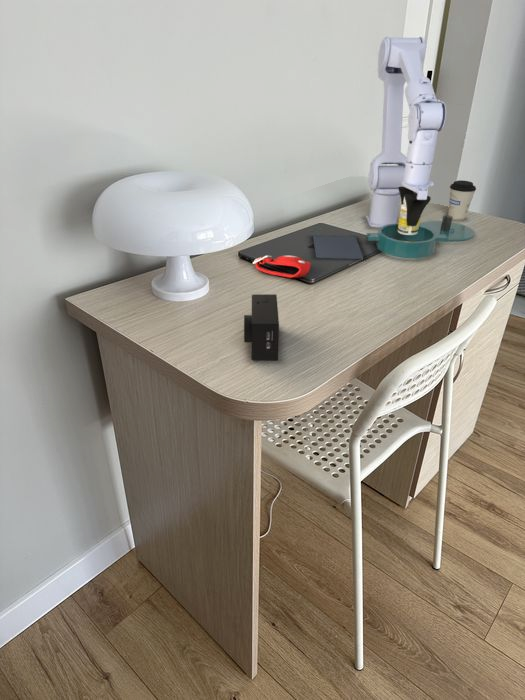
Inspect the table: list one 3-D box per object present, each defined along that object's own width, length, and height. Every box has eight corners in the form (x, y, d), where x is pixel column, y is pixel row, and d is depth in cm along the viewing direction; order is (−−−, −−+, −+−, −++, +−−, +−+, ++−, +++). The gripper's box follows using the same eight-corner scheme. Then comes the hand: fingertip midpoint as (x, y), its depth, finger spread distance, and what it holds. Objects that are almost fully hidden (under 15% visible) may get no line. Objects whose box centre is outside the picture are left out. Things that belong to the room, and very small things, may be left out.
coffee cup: (462, 214, 148) (470, 179, 143) (473, 221, 142) (482, 185, 137) (439, 215, 147) (446, 179, 142) (450, 222, 141) (457, 186, 136)
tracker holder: (293, 254, 118) (321, 258, 110) (291, 273, 119) (319, 278, 111) (249, 252, 111) (276, 256, 103) (248, 273, 112) (274, 278, 104)
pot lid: (410, 224, 140) (413, 207, 138) (463, 225, 140) (467, 208, 138) (423, 243, 128) (426, 225, 125) (481, 244, 128) (486, 226, 125)
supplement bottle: (415, 229, 124) (422, 194, 119) (419, 236, 120) (425, 200, 115) (395, 228, 124) (401, 193, 119) (398, 235, 120) (404, 199, 115)
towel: (312, 237, 131) (312, 235, 130) (355, 238, 130) (355, 236, 130) (316, 258, 119) (316, 256, 119) (363, 259, 119) (363, 257, 118)
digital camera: (245, 328, 91) (244, 293, 87) (275, 328, 91) (276, 293, 87) (244, 360, 82) (243, 323, 78) (277, 360, 82) (279, 323, 78)
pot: (361, 239, 130) (363, 222, 128) (436, 240, 130) (439, 224, 127) (370, 259, 118) (372, 242, 116) (451, 261, 118) (455, 243, 116)
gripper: (446, 170, 107) (434, 232, 114) (429, 155, 119) (418, 212, 126) (412, 169, 107) (402, 231, 114) (398, 154, 119) (390, 211, 126)
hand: (409, 221), depth 120 cm, fingers closed on supplement bottle, 5 cm apart
